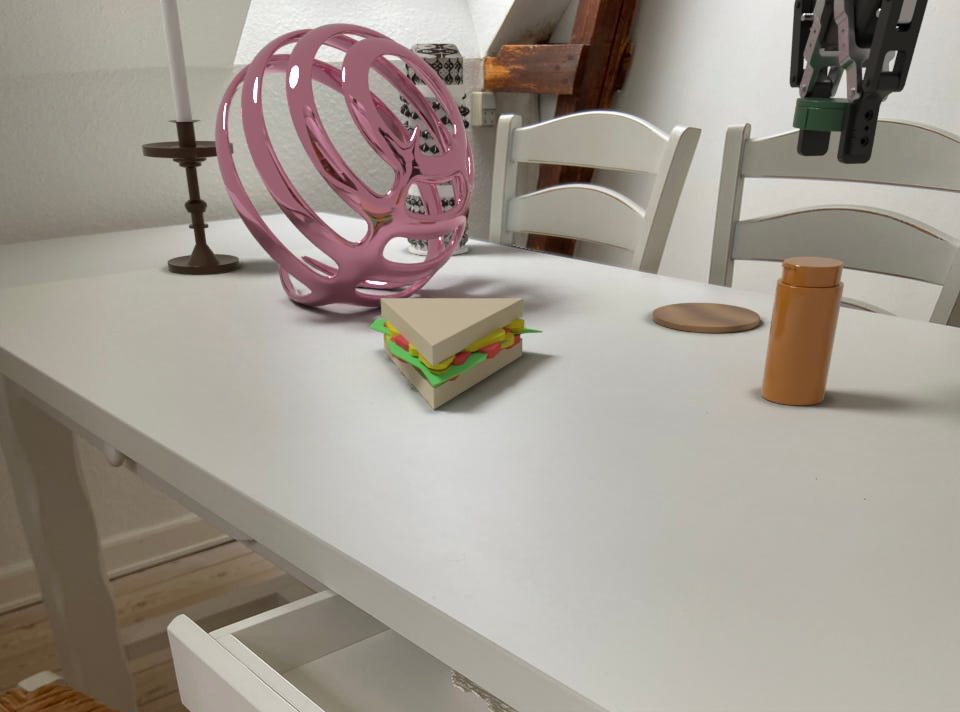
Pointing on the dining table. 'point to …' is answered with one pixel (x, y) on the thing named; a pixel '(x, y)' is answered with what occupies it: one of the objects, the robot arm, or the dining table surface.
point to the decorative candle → (451, 72)
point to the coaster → (706, 317)
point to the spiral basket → (384, 137)
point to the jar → (802, 330)
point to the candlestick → (187, 155)
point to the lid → (820, 113)
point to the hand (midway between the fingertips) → (831, 158)
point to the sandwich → (450, 340)
